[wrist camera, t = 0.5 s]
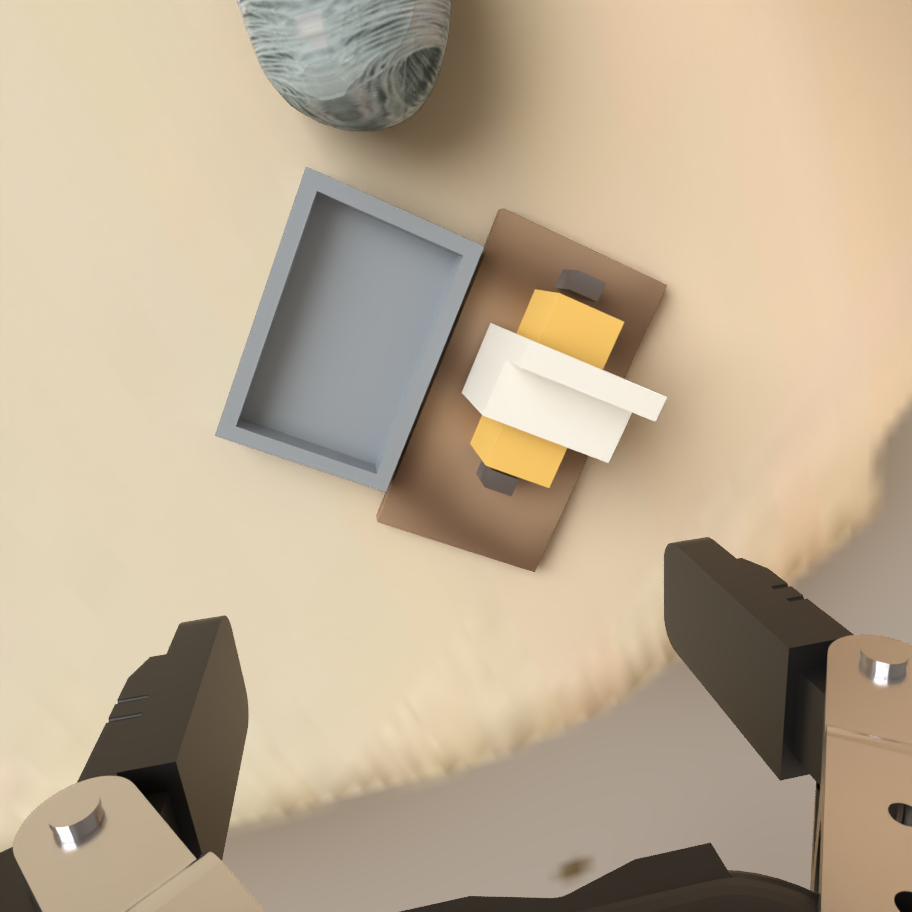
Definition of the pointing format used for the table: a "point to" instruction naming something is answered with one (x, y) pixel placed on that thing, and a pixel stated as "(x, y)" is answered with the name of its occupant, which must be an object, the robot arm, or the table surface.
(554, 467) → the yellow rectangular block
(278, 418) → the tray
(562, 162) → the table surface
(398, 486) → the clamp board
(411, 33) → the streaked grey-blue ovoid
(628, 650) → the table surface
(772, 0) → the table surface
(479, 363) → the white stepped block
